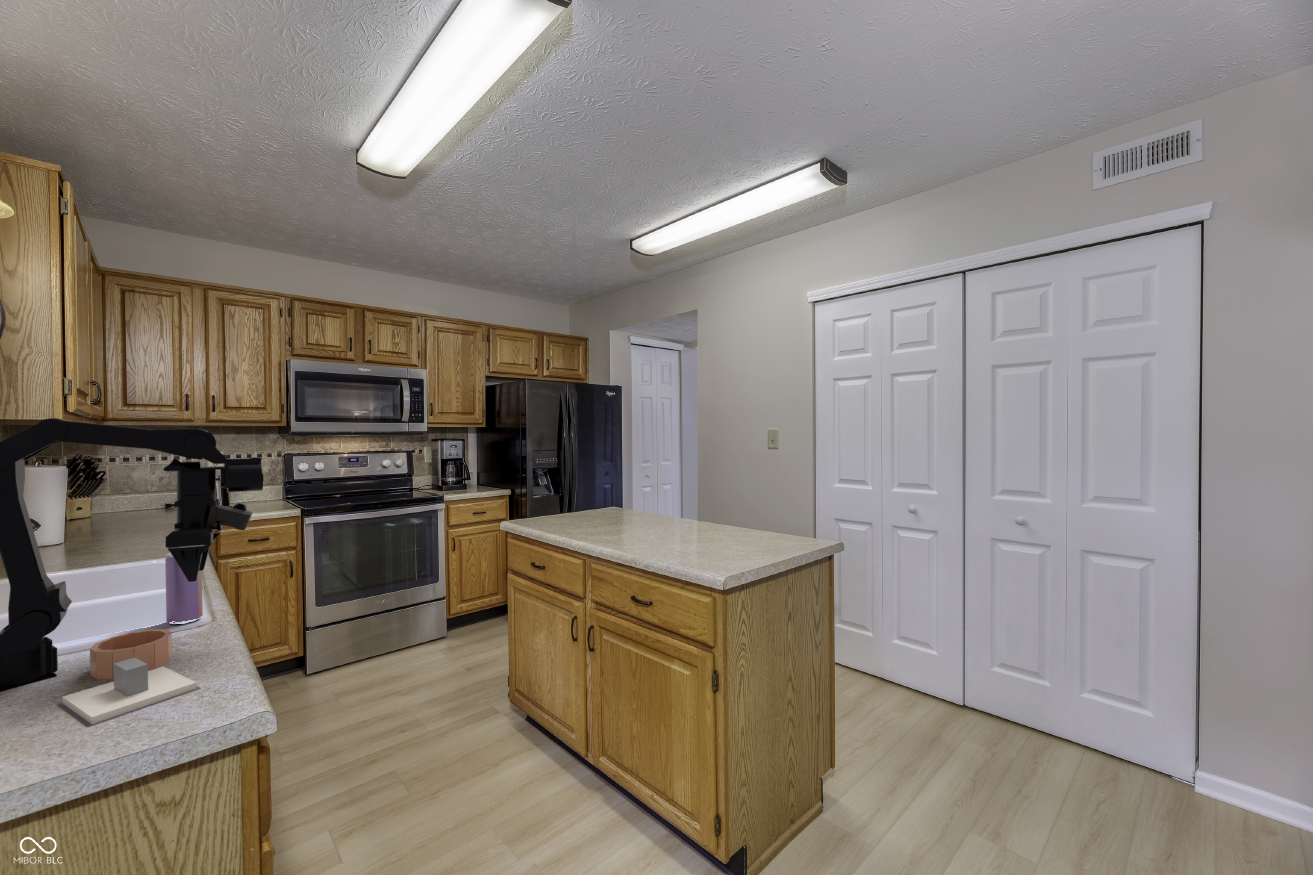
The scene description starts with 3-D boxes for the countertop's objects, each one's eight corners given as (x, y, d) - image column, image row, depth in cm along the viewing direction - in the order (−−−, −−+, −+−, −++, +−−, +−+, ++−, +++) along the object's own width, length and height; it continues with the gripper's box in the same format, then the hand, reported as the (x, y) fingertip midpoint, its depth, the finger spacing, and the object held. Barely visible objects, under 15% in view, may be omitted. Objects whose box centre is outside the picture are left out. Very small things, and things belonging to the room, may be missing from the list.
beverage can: (186, 626, 116) (185, 555, 116) (158, 625, 116) (157, 555, 116) (209, 616, 122) (208, 549, 122) (183, 616, 122) (182, 549, 122)
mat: (88, 730, 76) (88, 727, 76) (56, 707, 83) (56, 703, 83) (201, 691, 88) (201, 688, 88) (166, 673, 94) (166, 670, 94)
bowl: (104, 686, 89) (104, 656, 89) (82, 673, 94) (81, 644, 94) (181, 663, 98) (180, 635, 98) (157, 652, 103) (156, 625, 103)
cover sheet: (91, 724, 77) (91, 689, 77) (62, 703, 83) (61, 670, 83) (196, 688, 88) (195, 657, 87) (163, 672, 93) (163, 643, 93)
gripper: (245, 496, 101) (244, 581, 101) (252, 487, 117) (252, 560, 117) (164, 500, 95) (164, 590, 95) (184, 490, 111) (184, 567, 111)
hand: (196, 575), depth 105 cm, fingers open, 9 cm apart
